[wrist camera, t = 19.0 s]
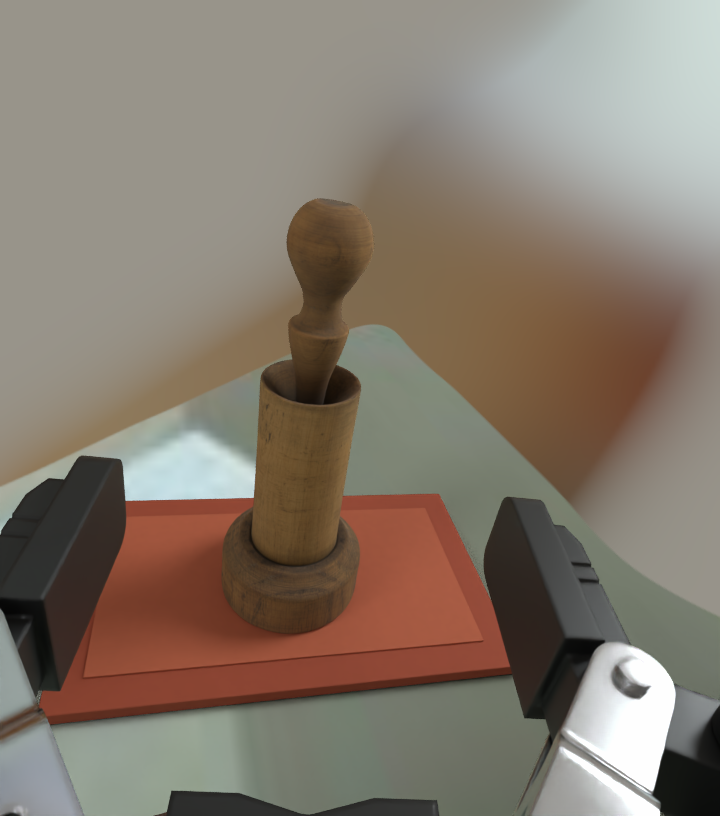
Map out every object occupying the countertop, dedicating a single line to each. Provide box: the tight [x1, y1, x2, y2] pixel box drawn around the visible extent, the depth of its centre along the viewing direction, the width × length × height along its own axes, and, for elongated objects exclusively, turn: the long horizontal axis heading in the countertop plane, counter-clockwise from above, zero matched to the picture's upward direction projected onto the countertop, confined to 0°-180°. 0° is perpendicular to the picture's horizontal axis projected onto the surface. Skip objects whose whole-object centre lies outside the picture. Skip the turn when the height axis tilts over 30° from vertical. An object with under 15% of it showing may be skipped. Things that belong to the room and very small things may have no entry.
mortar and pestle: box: [221, 199, 374, 634], centre depth 25 cm, size 7×6×18 cm
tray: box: [39, 494, 512, 725], centre depth 30 cm, size 20×12×1 cm, turn 102°
